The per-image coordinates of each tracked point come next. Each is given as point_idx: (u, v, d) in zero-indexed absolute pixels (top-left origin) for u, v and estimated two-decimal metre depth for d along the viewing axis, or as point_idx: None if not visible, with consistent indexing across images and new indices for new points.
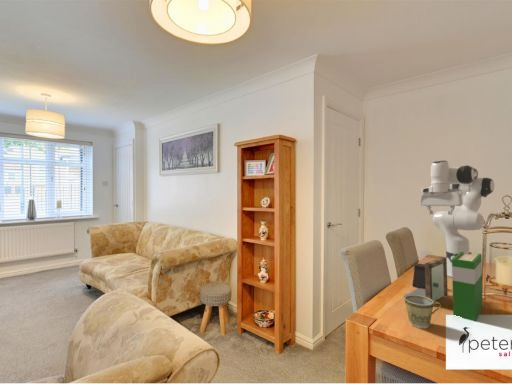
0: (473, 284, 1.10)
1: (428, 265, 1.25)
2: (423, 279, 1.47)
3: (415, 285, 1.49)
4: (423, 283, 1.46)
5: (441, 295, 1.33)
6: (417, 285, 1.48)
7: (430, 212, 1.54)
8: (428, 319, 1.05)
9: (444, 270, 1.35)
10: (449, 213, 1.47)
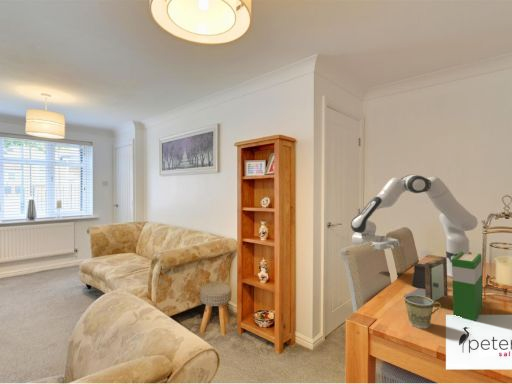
0: (473, 284, 1.10)
1: (428, 265, 1.25)
2: (423, 279, 1.47)
3: (415, 285, 1.49)
4: (423, 283, 1.46)
5: (441, 295, 1.33)
6: (417, 285, 1.48)
7: None
8: (428, 319, 1.05)
9: (444, 270, 1.35)
10: None
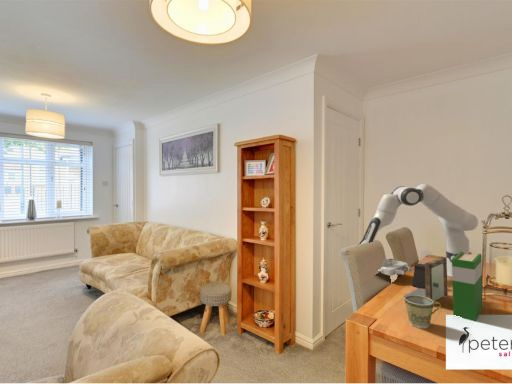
0: (473, 284, 1.10)
1: (428, 265, 1.25)
2: (423, 279, 1.47)
3: (415, 285, 1.49)
4: (423, 283, 1.46)
5: (441, 295, 1.33)
6: (417, 285, 1.48)
7: None
8: (428, 319, 1.05)
9: (444, 270, 1.35)
10: None
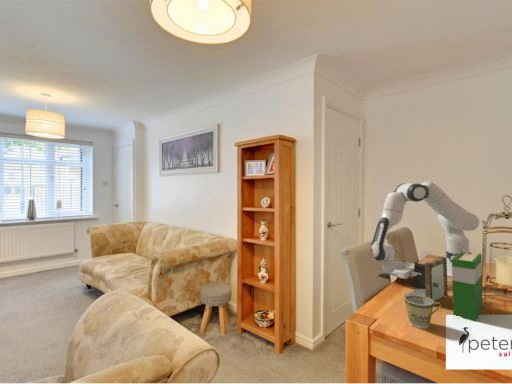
0: (473, 284, 1.10)
1: (428, 265, 1.25)
2: (423, 279, 1.47)
3: (415, 285, 1.49)
4: (423, 283, 1.46)
5: (441, 295, 1.33)
6: (417, 285, 1.48)
7: None
8: (428, 319, 1.05)
9: (444, 270, 1.35)
10: None
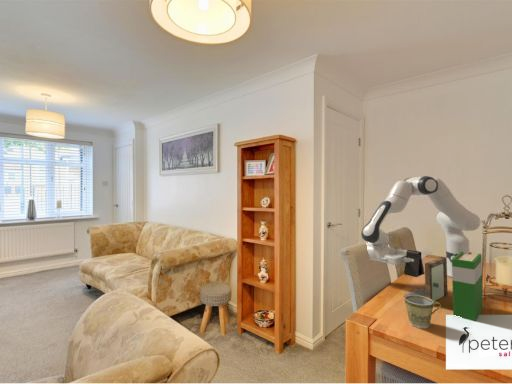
0: (473, 284, 1.10)
1: (428, 265, 1.25)
2: (415, 267, 1.36)
3: (407, 273, 1.38)
4: (415, 271, 1.36)
5: (441, 295, 1.33)
6: (409, 273, 1.38)
7: None
8: (428, 319, 1.05)
9: (444, 270, 1.35)
10: None
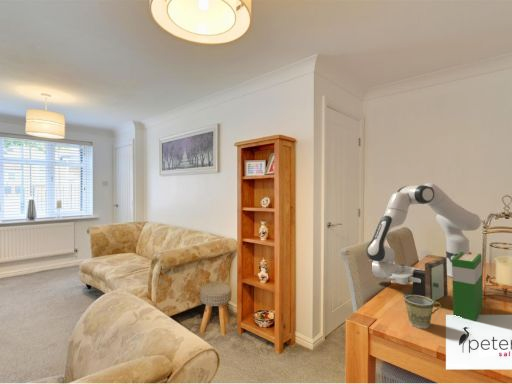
0: (473, 284, 1.10)
1: (428, 265, 1.25)
2: (423, 287, 1.34)
3: (414, 293, 1.36)
4: (423, 291, 1.33)
5: (441, 295, 1.33)
6: (417, 293, 1.35)
7: None
8: (428, 319, 1.05)
9: (444, 270, 1.35)
10: None
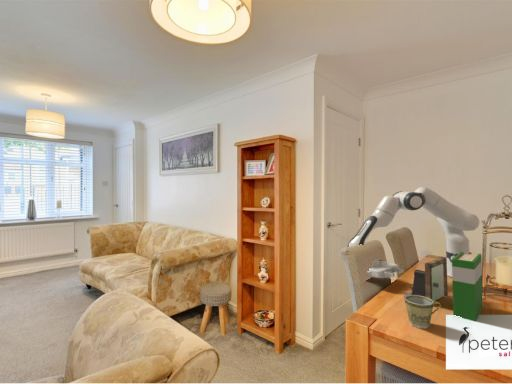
0: (473, 284, 1.10)
1: (428, 265, 1.25)
2: (423, 287, 1.34)
3: (414, 294, 1.36)
4: (423, 292, 1.33)
5: (441, 295, 1.33)
6: (417, 294, 1.35)
7: None
8: (428, 319, 1.05)
9: (444, 270, 1.35)
10: None
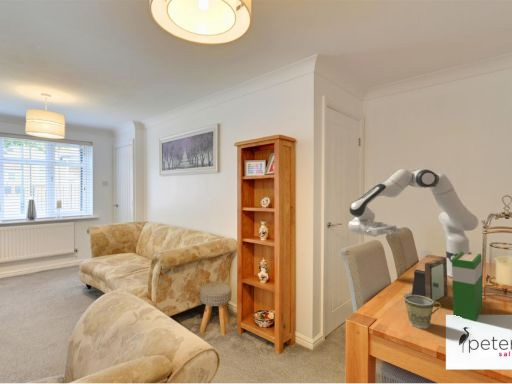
0: (473, 284, 1.10)
1: (428, 265, 1.25)
2: (423, 287, 1.34)
3: (414, 294, 1.36)
4: (423, 292, 1.33)
5: (441, 295, 1.33)
6: (417, 294, 1.35)
7: (398, 231, 1.56)
8: (428, 319, 1.05)
9: (444, 270, 1.35)
10: (390, 233, 1.50)
